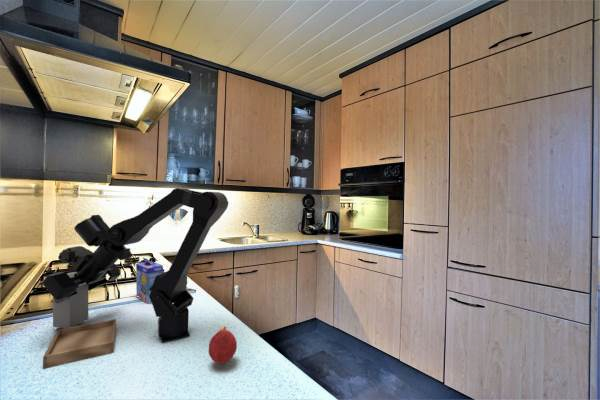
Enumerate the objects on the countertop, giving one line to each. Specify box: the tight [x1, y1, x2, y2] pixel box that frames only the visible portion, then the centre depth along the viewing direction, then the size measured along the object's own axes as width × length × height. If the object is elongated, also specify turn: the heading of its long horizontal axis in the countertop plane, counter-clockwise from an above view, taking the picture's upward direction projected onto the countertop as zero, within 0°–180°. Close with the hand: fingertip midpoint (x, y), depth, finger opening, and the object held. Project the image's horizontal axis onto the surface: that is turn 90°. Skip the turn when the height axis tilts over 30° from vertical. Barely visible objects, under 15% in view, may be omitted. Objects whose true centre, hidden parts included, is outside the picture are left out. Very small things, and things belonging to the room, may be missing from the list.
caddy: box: [52, 271, 89, 329], centre depth 76 cm, size 5×6×13 cm
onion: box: [208, 325, 238, 366], centre depth 59 cm, size 6×6×8 cm
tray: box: [42, 318, 117, 369], centre depth 66 cm, size 12×14×2 cm
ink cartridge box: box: [135, 257, 164, 305], centre depth 97 cm, size 10×6×14 cm, turn 51°
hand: (66, 297), depth 76 cm, fingers closed on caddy, 5 cm apart
